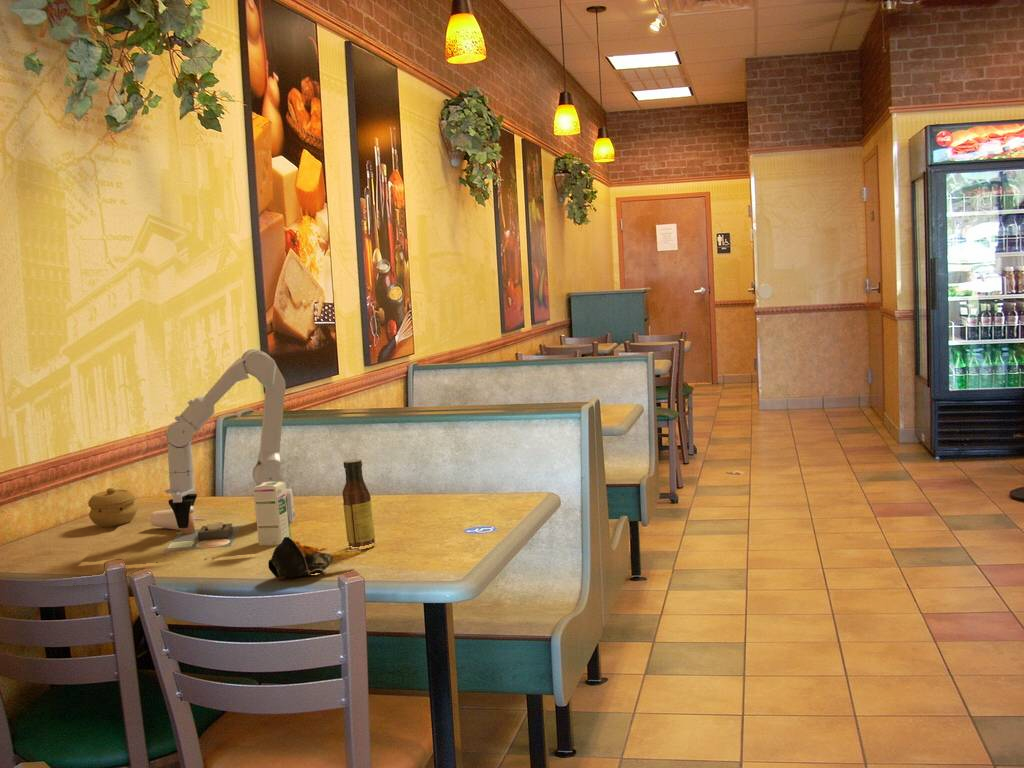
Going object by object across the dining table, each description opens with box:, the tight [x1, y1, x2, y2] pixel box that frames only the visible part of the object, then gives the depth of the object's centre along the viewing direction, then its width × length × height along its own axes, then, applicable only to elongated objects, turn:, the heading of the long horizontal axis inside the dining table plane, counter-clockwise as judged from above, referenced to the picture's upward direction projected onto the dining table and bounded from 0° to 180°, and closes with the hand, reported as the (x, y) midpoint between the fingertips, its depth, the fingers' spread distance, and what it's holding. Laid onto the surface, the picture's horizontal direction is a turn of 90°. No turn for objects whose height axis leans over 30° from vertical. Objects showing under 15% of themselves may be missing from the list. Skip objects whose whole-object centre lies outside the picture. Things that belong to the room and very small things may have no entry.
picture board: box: [163, 525, 243, 553], centre depth 254 cm, size 15×20×1 cm
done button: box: [206, 521, 224, 531], centre depth 255 cm, size 4×4×2 cm
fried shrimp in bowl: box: [267, 537, 363, 579], centre depth 220 cm, size 9×11×18 cm
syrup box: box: [252, 481, 292, 546], centre depth 245 cm, size 6×6×14 cm
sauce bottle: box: [342, 458, 376, 547], centre depth 238 cm, size 6×6×20 cm
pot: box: [87, 487, 138, 528], centre depth 277 cm, size 12×12×10 cm
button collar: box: [198, 523, 234, 541], centre depth 255 cm, size 7×7×2 cm
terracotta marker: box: [180, 506, 196, 535], centre depth 260 cm, size 4×4×6 cm
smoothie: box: [149, 508, 207, 531], centre depth 266 cm, size 6×6×14 cm
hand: (184, 526), depth 260 cm, fingers closed on terracotta marker, 3 cm apart
